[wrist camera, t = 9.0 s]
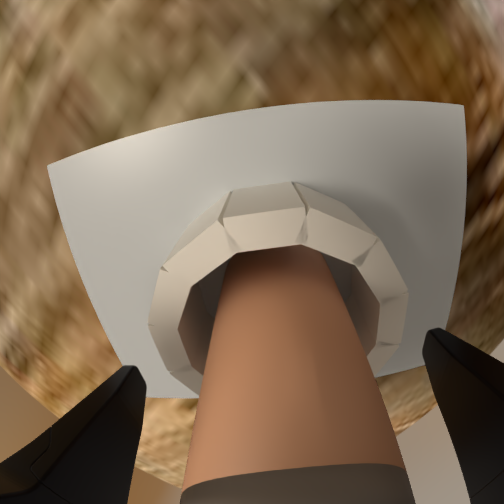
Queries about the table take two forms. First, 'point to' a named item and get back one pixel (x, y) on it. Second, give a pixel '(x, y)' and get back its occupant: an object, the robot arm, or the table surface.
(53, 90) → the table surface
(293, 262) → the plug
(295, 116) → the plate with ring collar
